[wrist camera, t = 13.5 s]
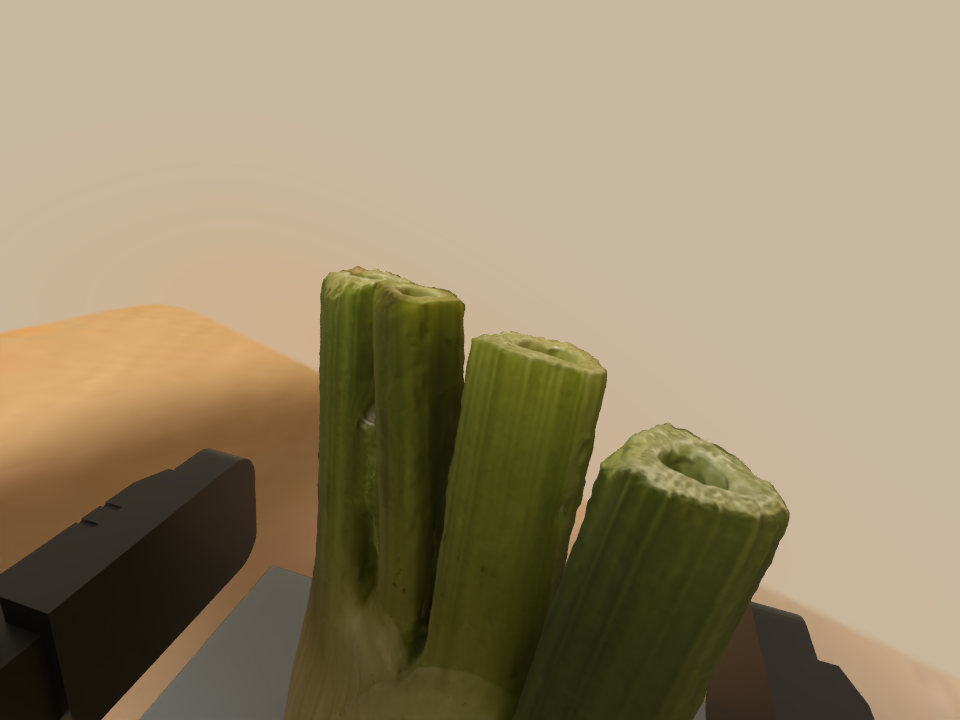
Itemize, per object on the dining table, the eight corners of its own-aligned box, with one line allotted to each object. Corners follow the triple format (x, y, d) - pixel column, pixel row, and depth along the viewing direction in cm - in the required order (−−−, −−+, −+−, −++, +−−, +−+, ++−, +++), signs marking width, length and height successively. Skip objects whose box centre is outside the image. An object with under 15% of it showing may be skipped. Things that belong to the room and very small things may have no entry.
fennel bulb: (574, 1160, 8) (932, 470, 4) (207, 1300, 7) (34, 510, 2) (480, 755, 14) (580, 248, 9) (255, 794, 12) (231, 223, 7)
